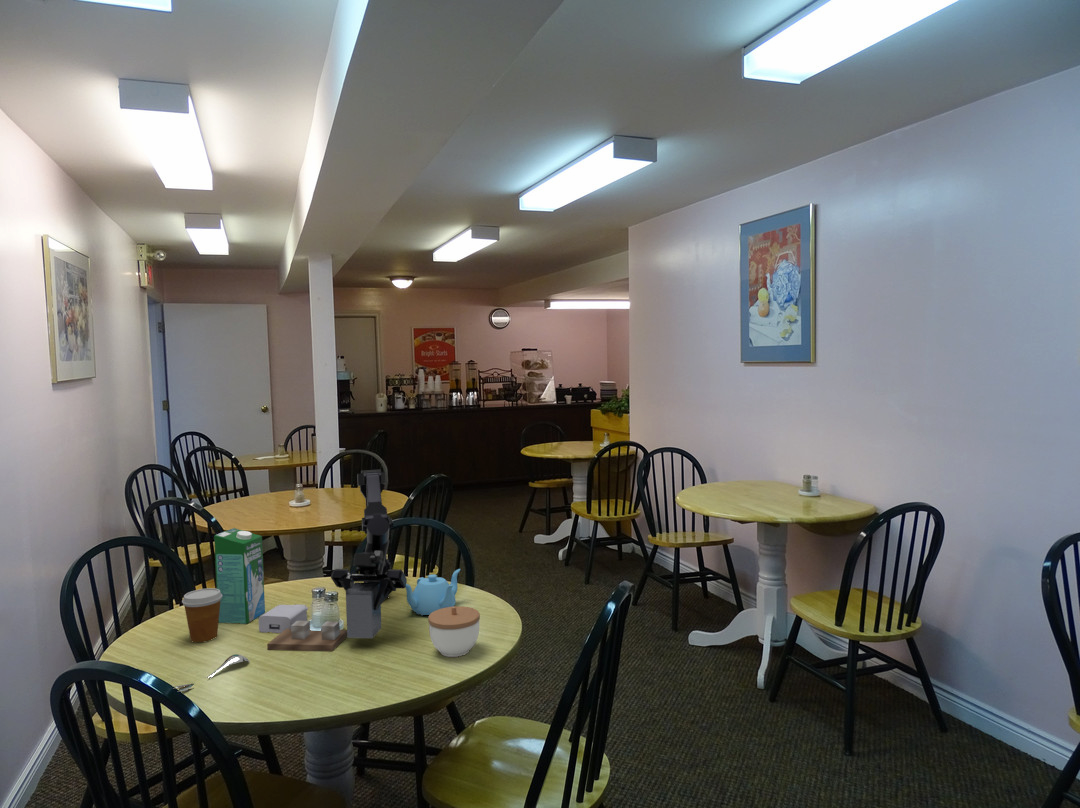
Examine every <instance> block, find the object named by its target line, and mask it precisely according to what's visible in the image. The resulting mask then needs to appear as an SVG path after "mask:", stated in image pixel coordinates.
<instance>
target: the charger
mask: <svg viewBox="0 0 1080 808" xmlns="http://www.w3.org/2000/svg"><path fill="white" fill-rule="evenodd" d="M308 610H309V607H308V606H307V604H278V605H276V606H274V607H273V608H272V609H270V610H269V611H267V612H265V613H264V614H262V615H260V616H259V617H258V631H259V632H260V633H267V632H272V633H271V634H273V633H274V634H280V633H281V632H283V631H284V630H285V629H291V625H292V624H294V623H295V622H296V621H308Z"/></svg>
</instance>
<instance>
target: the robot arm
mask: <svg viewBox="0 0 1080 808" xmlns="http://www.w3.org/2000/svg"><path fill="white" fill-rule="evenodd" d="M386 475H387V474H386V472H385V471H382V470H381V469H371V470H370V469H369V470H368V469H367V470H361V471H360V473H357V475H356V478H357V486H358V487H359V491H360V493H361V495H362V496H363V497H364V499H365V508H364V510H363V515H364V517H361V531H362V532H364V534H365V535H366V541H367V543H366V546H365V550H364V551H363V552H355V553H354V555H353V556H354V557H353V563H352V564H353V567H356V568H355V569H356V572H359V573H351V571H350V570H349V568H335V569H334V570H333V571H332V572H331V574H330V575H331V576H330V579H331V581H332V582H333V584H335V586H336V587H337V588H342V589H343V590H344V591H345V592H346V590H347V589H348V588H349V587H351V586H352V585H353V584H354V583H355V582H362V583H380V587H379V591H378V594H377V598H376V601H375V606H374V609H375V610H377V609H378V608H379V606H380V605H381V606H382V604H383V603H384V601H385V600H387V599H389V598H388V597H391V596H390V595H391V593H392V592H396V591H397V589H406V584H408V582H407V580H408V579H407V577H406V575H405V572H404V571H403V570H402V569H401V568H400V569H399V568H398V569H397V568H396V569H394V568H392V563H391V561H390V559H389V558H387V553H388V549H389V544H390V539H389V537H390V530H392V528H393V527H394V521H393V519H392V518H391V516H390V515H388V509H387V507H386V506H384V505H383V501H382V500H383V499H382V493H383V491H384V485H386V484H387V479H386ZM386 598H387V599H386Z"/></svg>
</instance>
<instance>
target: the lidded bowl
mask: <svg viewBox="0 0 1080 808" xmlns="http://www.w3.org/2000/svg"><path fill="white" fill-rule="evenodd" d="M427 617H428V618H427V619H428V620H427V621H428V629H429V637H430V640H431V642H432V645H433V646H434V648H435V649H436V651H439V652H440V654H441V656H444V657H446V658H459V657H462V655H463V656H465V655H467V654H469V652H470V651H469V650H471V649H472V648H473V647H474V646H475V644H476V643H477V640H478V637H479V633H480V619H481V614H480V612H479V610H477V609H475V608H473V607H468V606H459V605H458V606H456V605H454V607H446V608H442V609H438V610H436V611H434V612H432V613H431V614H430V615H429V616H427ZM466 653H467V654H466ZM464 654H465V655H464ZM458 656H459V657H458Z"/></svg>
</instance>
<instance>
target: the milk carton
mask: <svg viewBox="0 0 1080 808" xmlns="http://www.w3.org/2000/svg"><path fill="white" fill-rule="evenodd" d="M213 540H214V541H213V542H214V559H215V560H214V564H215V585H216V586H215V587H216V588H215V589H219V590H220V592H221V594H222V598H221V601H220V612H219V623H218V624H235V623H240V624H241V625H248V624H249V623H251V622H253V621H254V620H256V619H257V618H259V617H260V616H262V615H263V614H265V613H266V604H265V602H266V601H265V578H264V576H265V575H264V556H263V555H264V553H263V550H264V549H263V536H262V535H260V534H255V533H254V532H253V533H252V532H251V531H247V530H242V529H239V528H235V527H232V528H229V529H227V530H225V531H222V532H220V533H218V534H217V533H216V534H215V535H214V536H213ZM252 620H253V621H252ZM247 623H248V624H247Z"/></svg>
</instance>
